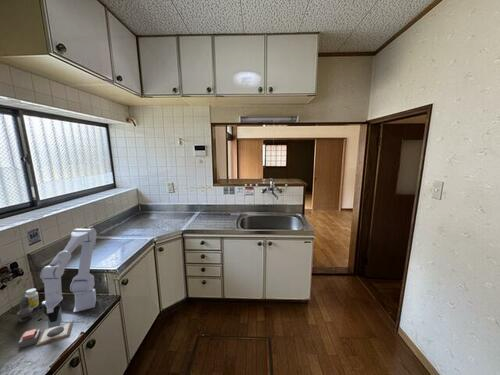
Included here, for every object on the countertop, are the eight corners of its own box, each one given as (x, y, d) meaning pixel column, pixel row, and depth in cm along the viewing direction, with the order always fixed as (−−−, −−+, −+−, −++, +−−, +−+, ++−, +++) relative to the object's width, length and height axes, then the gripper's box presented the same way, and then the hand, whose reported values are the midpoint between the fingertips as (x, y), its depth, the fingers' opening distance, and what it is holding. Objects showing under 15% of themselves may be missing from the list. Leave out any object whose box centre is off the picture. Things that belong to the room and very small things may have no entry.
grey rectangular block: (61, 320, 104) (60, 302, 103) (59, 325, 100) (58, 307, 99) (50, 323, 101) (49, 305, 101) (48, 328, 98) (47, 310, 97)
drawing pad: (72, 322, 109) (72, 320, 108) (69, 336, 100) (68, 334, 100) (43, 331, 103) (43, 329, 103) (36, 346, 94) (36, 344, 94)
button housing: (40, 334, 101) (40, 329, 101) (36, 342, 96) (36, 337, 96) (23, 339, 98) (23, 333, 98) (18, 348, 93) (18, 342, 93)
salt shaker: (23, 322, 108) (21, 300, 106) (14, 320, 109) (12, 298, 108) (36, 314, 113) (35, 293, 112) (28, 313, 114) (26, 291, 113)
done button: (36, 332, 99) (36, 328, 99) (34, 338, 96) (33, 333, 96) (25, 335, 97) (25, 331, 97) (22, 341, 94) (22, 337, 94)
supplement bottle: (41, 304, 121) (40, 288, 120) (29, 310, 116) (27, 294, 115) (35, 302, 123) (33, 286, 122) (22, 308, 118) (21, 292, 117)
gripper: (46, 285, 103) (47, 311, 105) (36, 302, 91) (38, 331, 92) (65, 281, 107) (66, 307, 108) (58, 297, 95) (60, 325, 96)
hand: (54, 318), depth 101 cm, fingers closed on grey rectangular block, 4 cm apart
